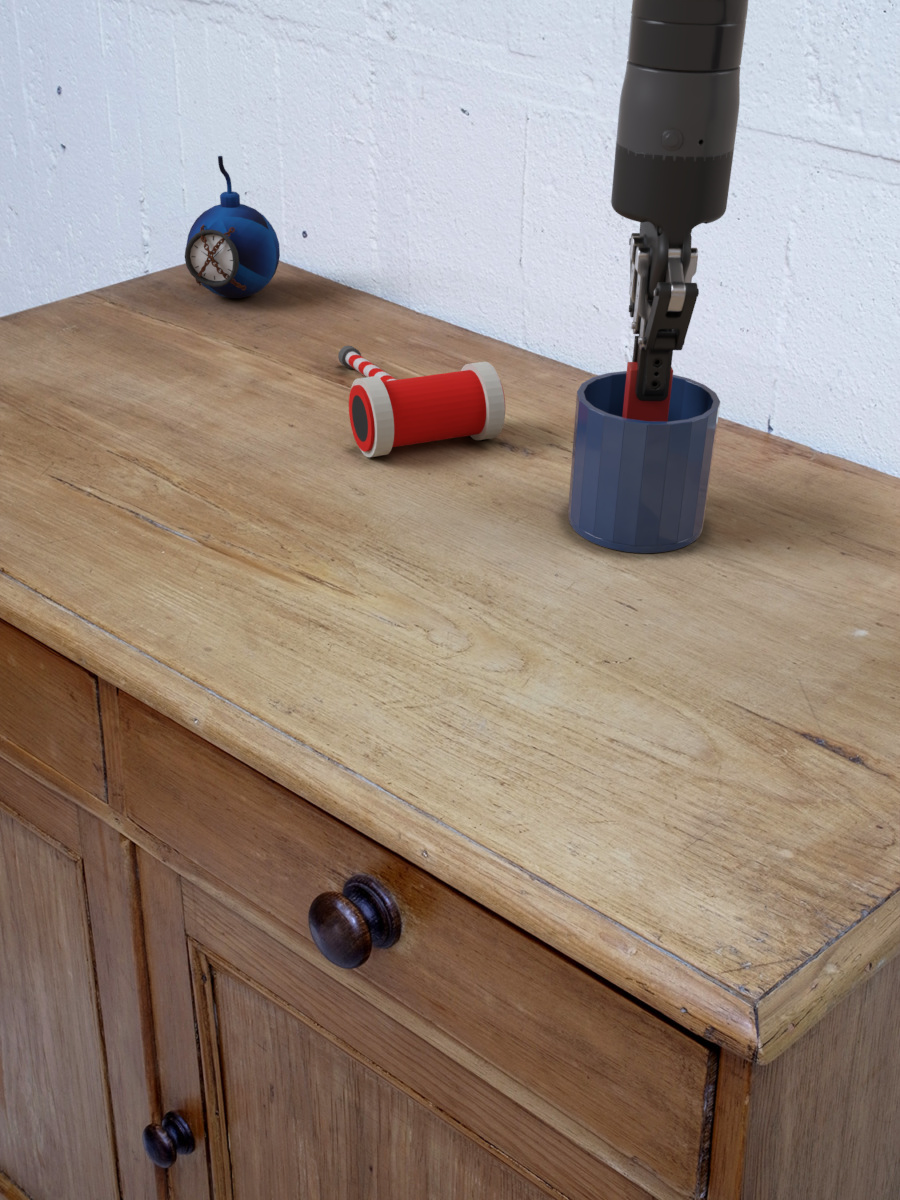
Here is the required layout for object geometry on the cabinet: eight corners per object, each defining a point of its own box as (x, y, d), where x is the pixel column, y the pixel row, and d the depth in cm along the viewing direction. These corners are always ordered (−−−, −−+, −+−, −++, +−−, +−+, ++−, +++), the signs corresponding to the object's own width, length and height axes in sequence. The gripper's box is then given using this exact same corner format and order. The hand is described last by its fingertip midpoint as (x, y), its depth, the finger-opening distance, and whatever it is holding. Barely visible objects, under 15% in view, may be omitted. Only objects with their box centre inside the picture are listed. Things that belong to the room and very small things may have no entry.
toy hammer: (287, 373, 123) (284, 307, 120) (404, 358, 127) (404, 293, 124) (374, 470, 105) (373, 395, 102) (506, 449, 109) (510, 376, 106)
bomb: (170, 307, 138) (157, 161, 131) (213, 278, 147) (203, 139, 140) (257, 317, 136) (248, 169, 129) (294, 287, 145) (289, 146, 138)
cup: (689, 492, 103) (704, 371, 98) (714, 554, 94) (732, 424, 89) (562, 491, 102) (570, 369, 97) (575, 553, 94) (586, 423, 89)
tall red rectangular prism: (660, 440, 96) (674, 320, 91) (664, 449, 94) (678, 328, 90) (619, 439, 96) (631, 320, 91) (622, 449, 94) (634, 328, 90)
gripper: (757, 164, 78) (720, 432, 87) (712, 118, 90) (683, 359, 99) (632, 161, 78) (607, 431, 87) (603, 116, 90) (584, 358, 99)
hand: (648, 392), depth 93 cm, fingers closed on tall red rectangular prism, 1 cm apart
